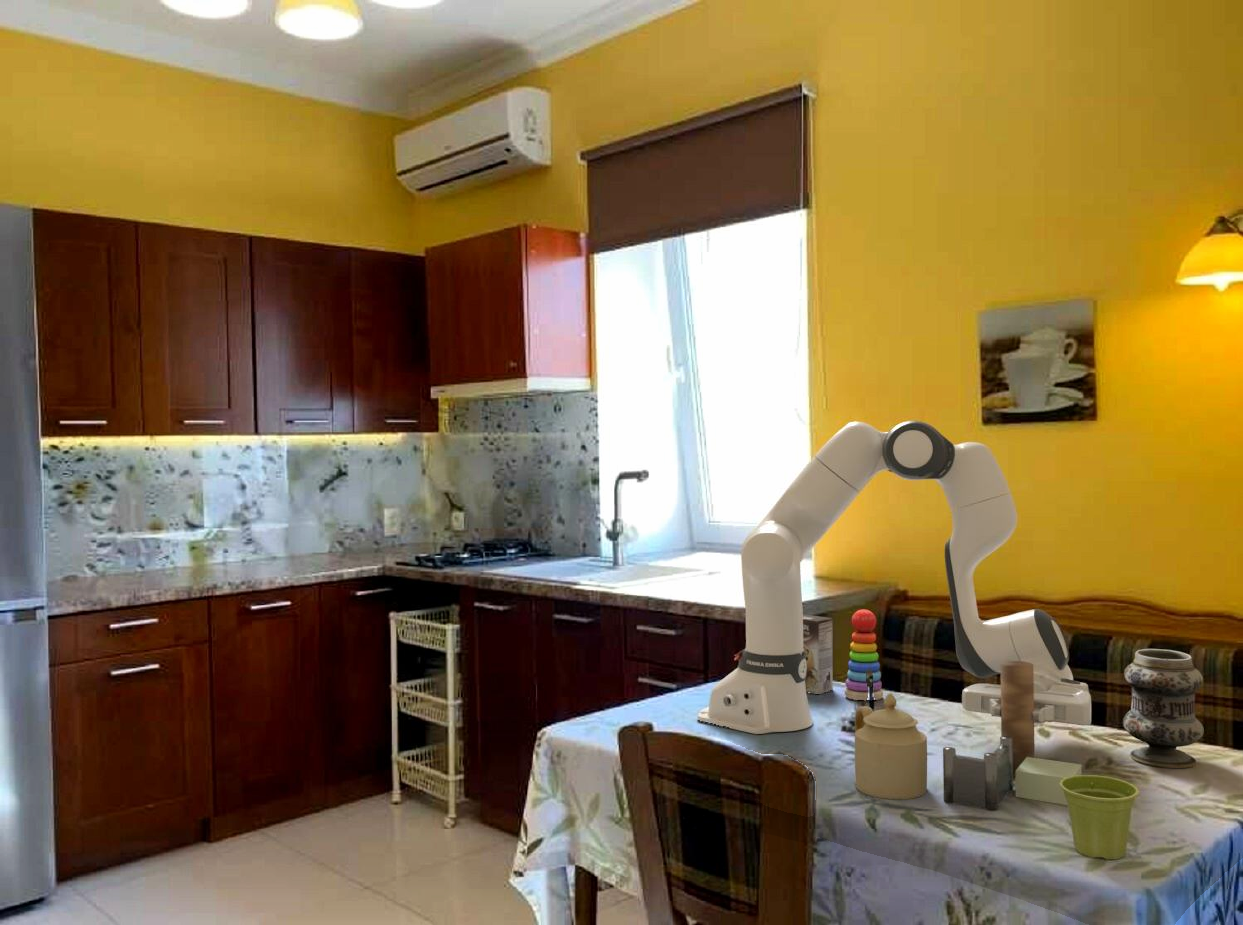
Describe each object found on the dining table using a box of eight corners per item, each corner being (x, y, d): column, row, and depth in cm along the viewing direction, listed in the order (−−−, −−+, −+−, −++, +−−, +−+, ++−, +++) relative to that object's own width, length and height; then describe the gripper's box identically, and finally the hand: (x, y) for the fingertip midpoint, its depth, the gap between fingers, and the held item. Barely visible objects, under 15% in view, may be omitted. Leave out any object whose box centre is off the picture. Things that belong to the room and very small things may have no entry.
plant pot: (1103, 871, 129) (1102, 802, 129) (1045, 845, 138) (1044, 781, 138) (1156, 858, 133) (1155, 791, 133) (1096, 833, 142) (1095, 770, 142)
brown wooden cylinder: (998, 776, 166) (997, 665, 166) (1005, 768, 170) (1004, 659, 170) (1031, 781, 163) (1029, 668, 163) (1037, 772, 168) (1036, 662, 167)
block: (1015, 796, 157) (1015, 770, 156) (1027, 781, 163) (1026, 756, 163) (1072, 806, 152) (1072, 779, 152) (1081, 790, 159) (1081, 764, 159)
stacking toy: (884, 703, 214) (883, 613, 213) (844, 701, 215) (843, 612, 215) (882, 693, 221) (881, 607, 221) (844, 692, 223) (843, 606, 223)
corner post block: (942, 802, 155) (941, 749, 155) (963, 779, 165) (962, 730, 165) (995, 811, 151) (995, 757, 150) (1014, 788, 160) (1013, 737, 160)
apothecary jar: (1204, 775, 165) (1203, 663, 165) (1121, 764, 171) (1119, 657, 171) (1203, 754, 175) (1202, 649, 175) (1125, 745, 181) (1124, 644, 181)
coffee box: (782, 689, 227) (781, 616, 227) (799, 684, 232) (797, 612, 231) (818, 695, 221) (817, 620, 221) (834, 690, 226) (833, 616, 225)
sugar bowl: (821, 782, 165) (819, 689, 165) (861, 767, 172) (860, 677, 172) (902, 805, 154) (900, 705, 154) (941, 788, 161) (940, 692, 161)
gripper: (972, 671, 183) (950, 687, 172) (1097, 684, 172) (1083, 702, 160) (973, 706, 183) (951, 725, 172) (1098, 722, 172) (1083, 742, 160)
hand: (1016, 714), depth 166 cm, fingers closed on brown wooden cylinder, 5 cm apart
